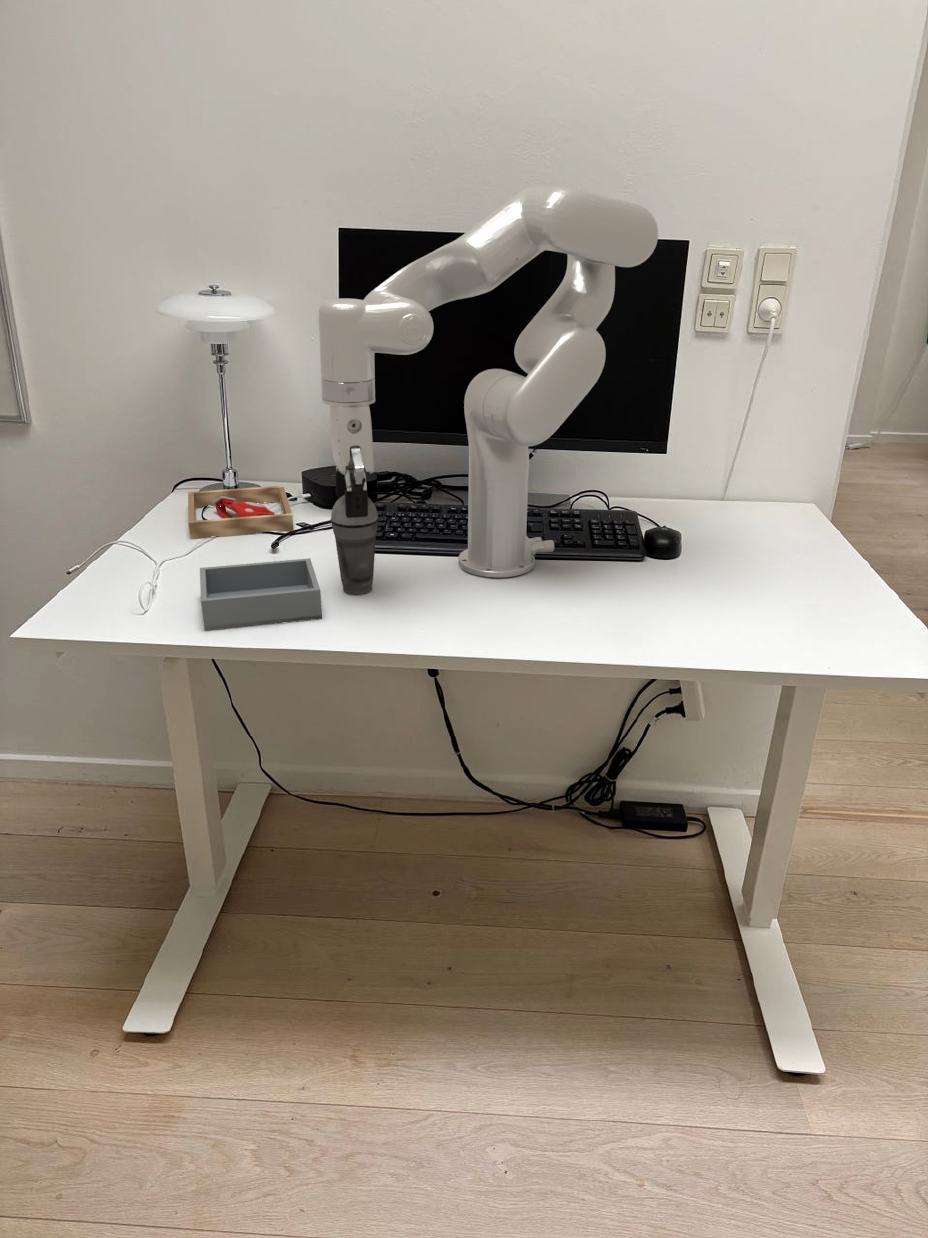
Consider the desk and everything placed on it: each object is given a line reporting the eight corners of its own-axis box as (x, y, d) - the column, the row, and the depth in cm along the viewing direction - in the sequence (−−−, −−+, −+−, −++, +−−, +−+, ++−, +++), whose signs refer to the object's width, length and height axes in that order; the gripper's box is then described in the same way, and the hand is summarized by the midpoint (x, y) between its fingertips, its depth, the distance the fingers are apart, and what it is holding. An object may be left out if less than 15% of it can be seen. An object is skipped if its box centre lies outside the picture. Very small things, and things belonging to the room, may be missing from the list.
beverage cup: (373, 601, 145) (369, 473, 137) (327, 596, 147) (320, 470, 138) (386, 582, 152) (382, 459, 143) (342, 578, 153) (336, 456, 145)
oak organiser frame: (284, 500, 189) (283, 485, 187) (293, 530, 173) (292, 515, 172) (189, 507, 184) (188, 492, 183) (190, 539, 169) (188, 522, 167)
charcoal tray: (311, 585, 151) (310, 558, 149) (322, 618, 140) (320, 589, 138) (203, 595, 147) (199, 567, 145) (204, 630, 136) (200, 601, 134)
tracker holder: (280, 506, 183) (270, 511, 173) (275, 528, 184) (265, 534, 174) (217, 490, 182) (204, 494, 172) (212, 513, 183) (199, 518, 173)
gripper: (385, 403, 129) (387, 523, 137) (364, 378, 145) (366, 487, 152) (330, 405, 128) (334, 526, 135) (314, 379, 143) (319, 490, 150)
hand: (351, 506), depth 143 cm, fingers open, 9 cm apart
